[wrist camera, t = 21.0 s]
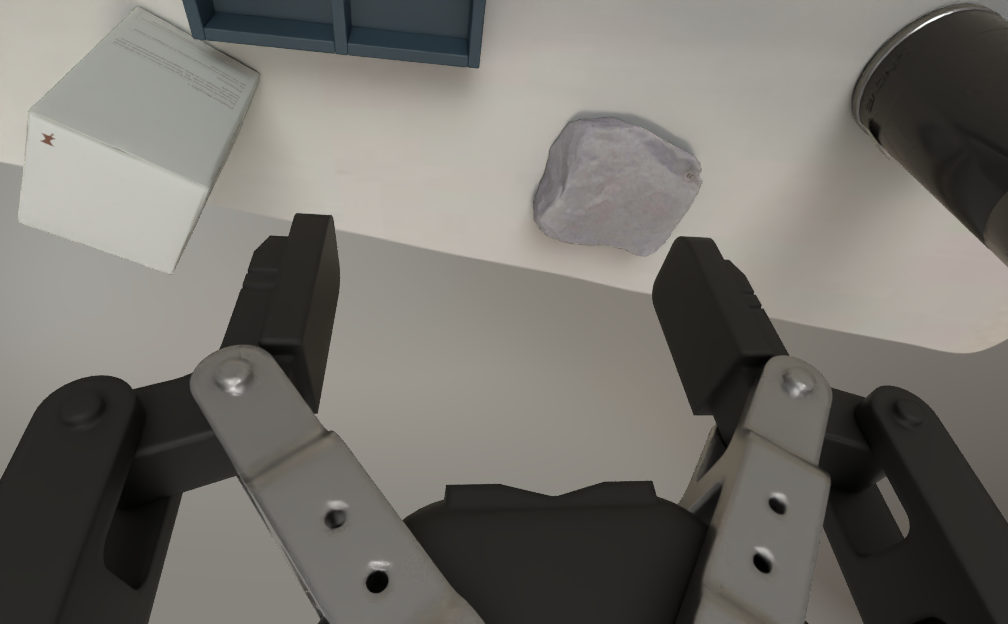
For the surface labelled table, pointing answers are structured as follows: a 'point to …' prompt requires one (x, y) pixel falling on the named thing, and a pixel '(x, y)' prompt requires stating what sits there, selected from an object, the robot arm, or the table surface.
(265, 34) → the compartment grid tray
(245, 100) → the white packaging box
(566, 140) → the stone block
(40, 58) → the table surface
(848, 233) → the table surface
